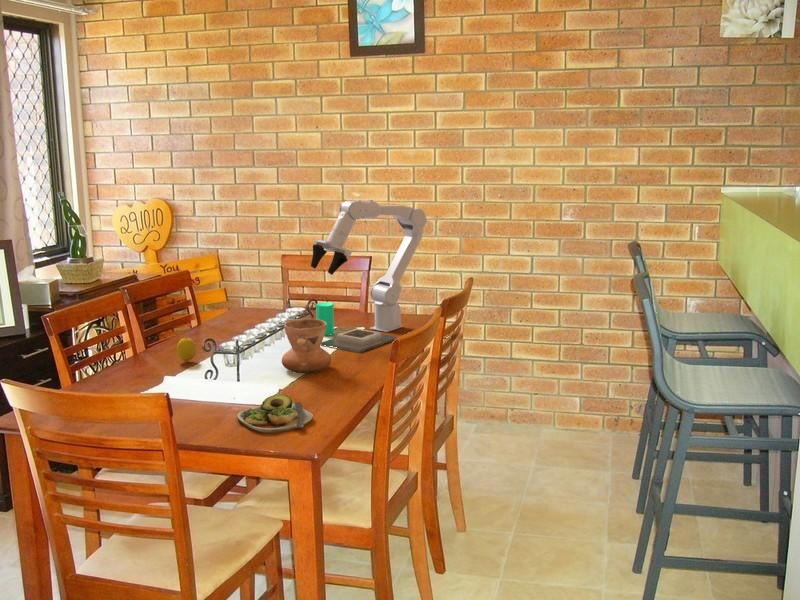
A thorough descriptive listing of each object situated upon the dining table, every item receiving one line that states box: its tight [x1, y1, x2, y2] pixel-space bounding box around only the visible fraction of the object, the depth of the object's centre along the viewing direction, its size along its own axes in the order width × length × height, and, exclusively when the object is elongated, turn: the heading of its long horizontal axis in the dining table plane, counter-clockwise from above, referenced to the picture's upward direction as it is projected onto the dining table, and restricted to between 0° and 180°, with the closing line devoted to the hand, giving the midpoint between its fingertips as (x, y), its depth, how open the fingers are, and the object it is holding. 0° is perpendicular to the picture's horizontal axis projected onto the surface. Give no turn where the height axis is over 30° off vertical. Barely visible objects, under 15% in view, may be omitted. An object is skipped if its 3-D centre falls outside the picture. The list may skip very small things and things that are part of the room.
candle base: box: [320, 328, 398, 354], centre depth 281 cm, size 20×16×3 cm
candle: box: [315, 299, 335, 336], centre depth 292 cm, size 6×6×12 cm
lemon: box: [176, 336, 197, 363], centre depth 258 cm, size 6×6×8 cm
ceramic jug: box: [281, 317, 332, 374], centre depth 250 cm, size 18×14×14 cm
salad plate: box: [236, 393, 314, 434], centre depth 208 cm, size 19×18×5 cm
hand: (321, 270), depth 280 cm, fingers open, 7 cm apart
